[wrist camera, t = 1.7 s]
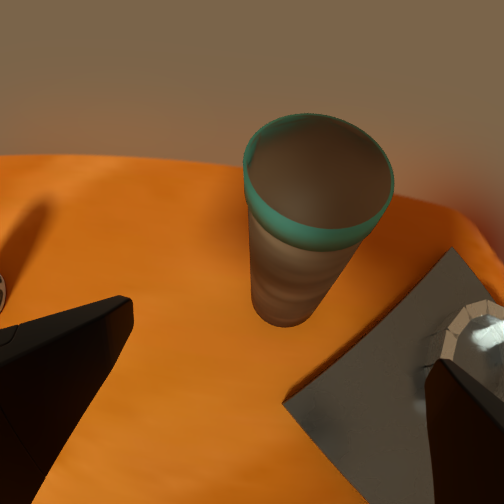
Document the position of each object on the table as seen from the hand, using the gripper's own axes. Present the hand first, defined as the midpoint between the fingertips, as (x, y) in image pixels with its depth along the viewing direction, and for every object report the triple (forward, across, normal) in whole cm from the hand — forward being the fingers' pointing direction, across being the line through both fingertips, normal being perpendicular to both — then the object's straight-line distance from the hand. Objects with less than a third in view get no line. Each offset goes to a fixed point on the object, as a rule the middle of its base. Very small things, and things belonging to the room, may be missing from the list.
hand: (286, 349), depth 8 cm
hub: (+8, -12, +8) cm, 17 cm away
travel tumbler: (+12, 0, +5) cm, 13 cm away
